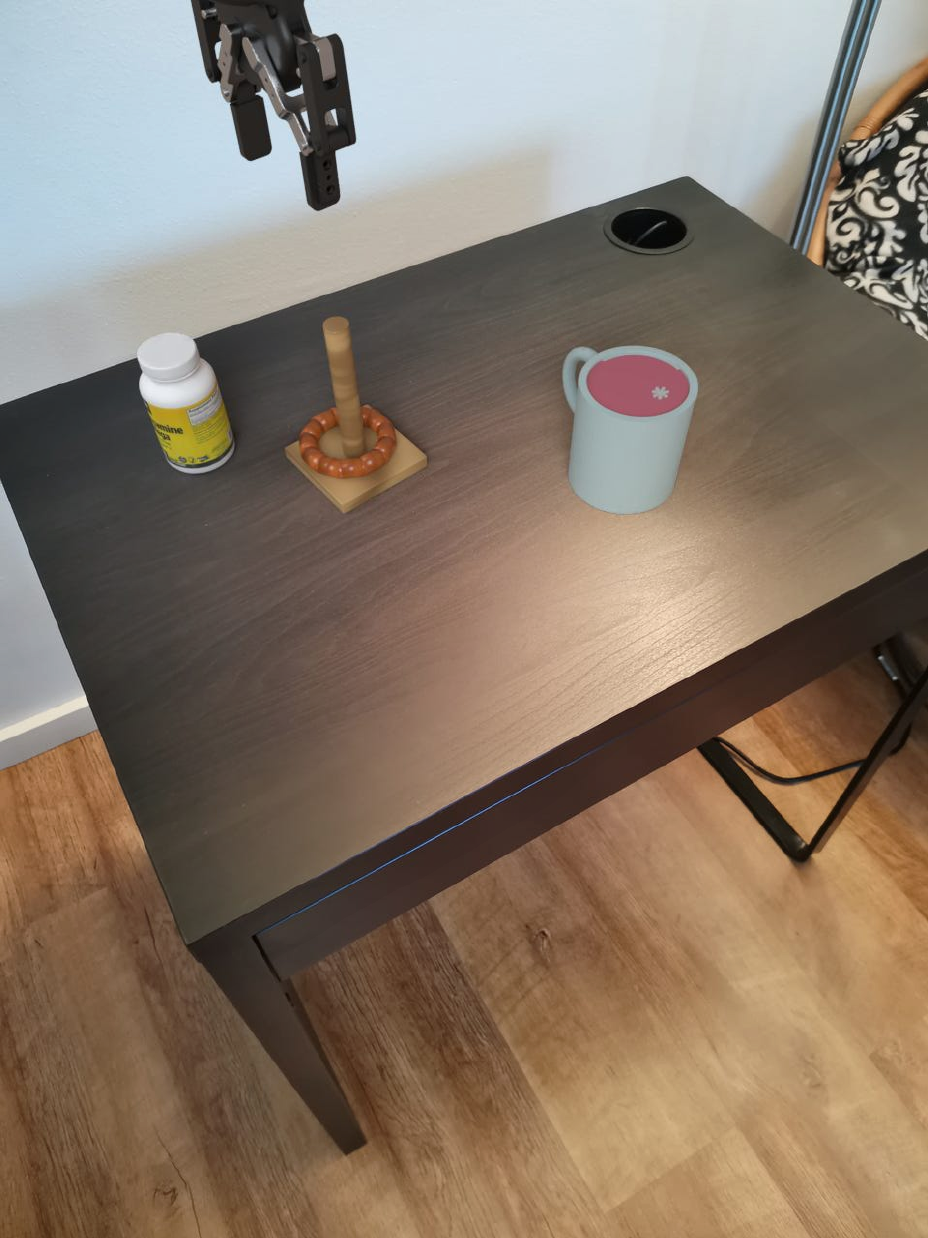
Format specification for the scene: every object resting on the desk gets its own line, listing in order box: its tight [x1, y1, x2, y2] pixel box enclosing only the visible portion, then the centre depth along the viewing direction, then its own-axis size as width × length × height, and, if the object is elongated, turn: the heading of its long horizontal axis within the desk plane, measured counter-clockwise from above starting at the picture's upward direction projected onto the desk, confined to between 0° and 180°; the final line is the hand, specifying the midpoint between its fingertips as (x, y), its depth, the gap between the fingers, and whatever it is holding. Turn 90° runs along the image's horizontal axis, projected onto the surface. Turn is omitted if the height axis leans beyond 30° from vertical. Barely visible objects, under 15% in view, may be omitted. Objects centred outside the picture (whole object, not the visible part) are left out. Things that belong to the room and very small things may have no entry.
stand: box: [284, 316, 429, 515], centre depth 72 cm, size 9×9×14 cm
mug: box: [561, 345, 699, 515], centre depth 74 cm, size 14×9×10 cm
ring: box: [298, 405, 397, 479], centre depth 77 cm, size 8×8×2 cm
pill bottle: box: [136, 331, 235, 475], centre depth 75 cm, size 6×6×11 cm
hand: (290, 179), depth 61 cm, fingers open, 8 cm apart
